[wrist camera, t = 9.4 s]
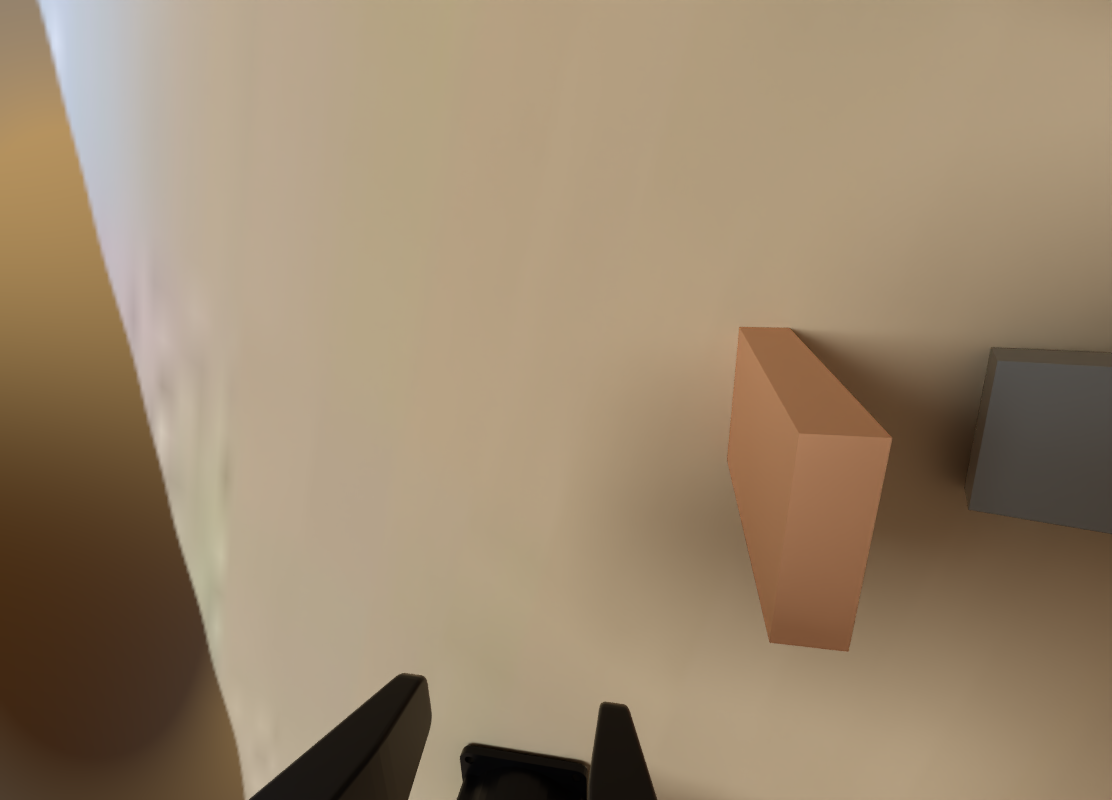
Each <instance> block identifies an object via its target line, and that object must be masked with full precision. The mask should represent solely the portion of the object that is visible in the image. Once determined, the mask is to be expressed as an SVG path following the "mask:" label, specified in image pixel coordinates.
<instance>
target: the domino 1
mask: <svg viewBox="0 0 1112 800" xmlns="http://www.w3.org/2000/svg"><path fill="white" fill-rule="evenodd" d="M891 443H892V437H891V436H890V435H889V434H888V433H887V432H886V431H885V430H884V428H883V427H882V426H881V425H880V424H879V423H878V422H877V421H876V420H875V419H874V418H873V417H872V416H871V415H870V414H869V412H868V411H867V410H866V409H865V408H864V407H863V406H862V405H861V404H860V403H859V402H858V401H857V400H856V399H855V397H854V396H853V395H852V394H851V393H850V392H849V391H848V390H847V389H846V388H845V387H844V386H843V385H842V384H841V383H840V381H839V380H838V379H837V378H836V377H835V376H834V375H833V374H832V373H831V372H830V371H829V370H828V369H827V368H826V366H825V365H824V364H823V363H822V362H821V361H820V360H819V359H818V358H817V357H816V356H815V355H814V354H813V353H812V352H811V350H810V349H809V348H808V347H807V346H806V345H805V344H804V343H803V342H802V341H801V340H800V339H799V338H798V337H797V335H796V334H795V333H794V332H793V331H792V330H791V329H790V328H764V327H739V337H738V348H737V359H736V369H735V380H734V391H733V402H732V412H731V423H730V434H729V445H728V455H727V461H728V466H729V470H730V474H731V479H732V483H733V487H734V492H735V496H736V500H737V504H738V509H739V513H740V517H741V522H742V526H743V530H744V535H745V539H746V543H747V547H748V552H749V556H750V560H751V565H752V569H753V573H754V578H755V582H756V586H757V590H758V595H759V599H760V603H761V608H762V612H763V616H764V620H765V625H766V629H767V633H768V638H769V642H770V643H778V644H787V645H796V646H804V647H813V648H821V649H830V650H839V651H847V652H848V651H849V646H850V642H851V637H852V632H853V627H854V622H855V617H856V612H857V608H858V603H859V598H860V593H861V588H862V583H863V578H864V574H865V569H866V564H867V559H868V554H869V549H870V545H871V540H872V535H873V530H874V525H875V520H876V515H877V511H878V506H879V501H880V496H881V491H882V486H883V482H884V477H885V472H886V467H887V462H888V457H889V452H890V448H891Z"/></svg>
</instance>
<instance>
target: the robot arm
mask: <svg viewBox="0 0 1112 800" xmlns="http://www.w3.org/2000/svg"><path fill="white" fill-rule="evenodd" d="M431 719H432V712H431V704H430V697H429V690H428V683H427V680H426V678H425V677H424V676H422V675H415V674H408V673H402V674H399V675H397V676H396V677H395V678H394V679H392V680H391V681H390V682H389V683H388V684H386V685H385V686H384V687H383V688H382V689H380V690H379V691H378V692H377V693H376V694H374V695H373V696H372V697H371V698H370V699H369V700H367V701H366V702H365V703H364V704H363V705H361V706H360V707H359V708H358V709H357V710H355V711H354V712H353V713H352V714H351V715H349V716H348V717H347V718H346V719H345V720H343V721H342V722H341V723H340V724H339V725H337V726H336V727H335V728H334V729H333V730H331V731H330V732H329V733H328V734H327V735H325V736H324V737H323V738H322V739H321V740H320V741H318V742H317V743H316V744H315V745H314V746H312V747H311V748H310V749H309V750H308V751H306V752H305V753H304V754H303V755H302V756H300V757H299V758H298V759H297V760H296V761H294V762H293V763H292V764H291V765H290V766H288V767H287V768H286V769H285V770H284V771H282V772H281V773H280V774H279V775H278V776H276V777H275V778H274V779H273V780H272V781H271V782H269V783H268V784H267V785H266V786H265V787H263V788H262V789H261V790H260V791H259V792H257V793H256V794H255V795H254V796H253V797H251V798H250V799H249V800H408V798H409V795H410V791H411V788H412V785H413V782H414V778H415V775H416V772H417V769H418V766H419V762H420V759H421V756H422V753H423V749H424V746H425V743H426V740H427V737H428V733H429V730H430V726H431ZM460 762H461V771H462V779H463V783H462V786H461V789H460V792H459V795H458V798H457V800H657V797H656V794H655V791H654V787H653V784H652V781H651V778H650V775H649V771H648V768H647V765H646V762H645V759H644V755H643V752H642V749H641V746H640V742H639V739H638V736H637V733H636V730H635V726H634V723H633V720H632V717H631V714H630V711H629V709H628V707H627V706H626V705H624V704H618V703H611V702H603V703H601V705H600V708H599V714H598V721H597V727H596V734H595V740H594V747H593V753H592V760H591V766H590V773H589V782H588V771H587V769H586V767H585V766H583V765H582V764H578V763H573V762H567V761H561V760H555V759H549V758H543V757H537V756H530V755H524V754H518V753H512V752H506V751H500V750H494V749H488V748H482V747H476V746H466V747H464V748H463V750H462V753H461V756H460Z"/></svg>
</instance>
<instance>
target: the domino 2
mask: <svg viewBox="0 0 1112 800" xmlns="http://www.w3.org/2000/svg"><path fill="white" fill-rule="evenodd" d="M964 488H965V493H966V499H967V504H968V510H974V511H979V512H985V513H991V514H997V515H1003V516H1009V517H1015V518H1021V519H1027V520H1033V521H1039V522H1045V523H1051V524H1057V525H1062V526H1068V527H1074V528H1080V529H1086V530H1092V531H1098V532H1104V533H1110V534H1112V353H1104V352H1082V351H1060V350H1038V349H1017V348H995V347H991V350H990V355H989V361H988V366H987V371H986V377H985V382H984V387H983V392H982V398H981V403H980V408H979V413H978V419H977V424H976V429H975V434H974V440H973V445H972V450H971V456H970V461H969V466H968V471H967V477H966V482H965V487H964Z"/></svg>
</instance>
